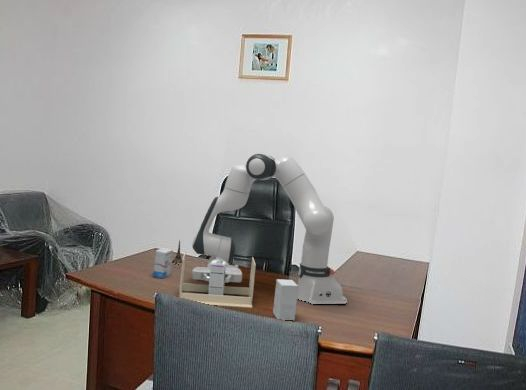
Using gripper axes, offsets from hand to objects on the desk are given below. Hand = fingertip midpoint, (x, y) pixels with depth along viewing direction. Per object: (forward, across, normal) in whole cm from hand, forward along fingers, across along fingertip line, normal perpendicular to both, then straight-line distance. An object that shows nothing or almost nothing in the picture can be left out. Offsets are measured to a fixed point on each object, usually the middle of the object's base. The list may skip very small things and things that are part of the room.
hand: (217, 280), depth 184 cm
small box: (+16, +25, +8) cm, 30 cm away
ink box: (-27, -24, +8) cm, 37 cm away
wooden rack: (-1, 0, +8) cm, 8 cm away
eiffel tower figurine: (-51, -19, +8) cm, 55 cm away
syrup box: (-1, 0, +8) cm, 8 cm away
